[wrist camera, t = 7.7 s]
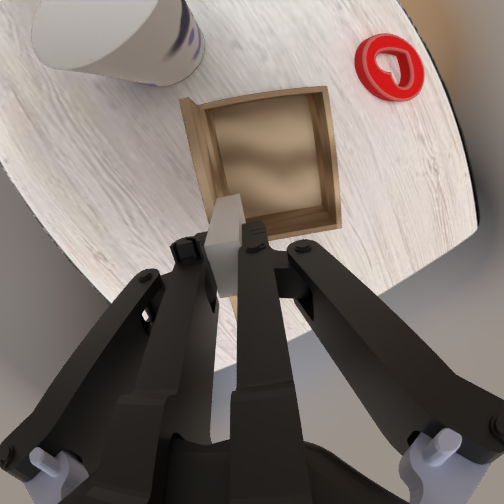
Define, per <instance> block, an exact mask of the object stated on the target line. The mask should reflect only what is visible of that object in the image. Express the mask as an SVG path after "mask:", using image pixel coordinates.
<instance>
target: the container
mask: <svg viewBox="0 0 504 504" xmlns="http://www.w3.org/2000/svg"><path fill="white" fill-rule="evenodd" d="M31 39H32V46H33V49H34V52H35V54H36V56H37V57H38V59H39V60H40V61H41V62H42V63H44V64H45V65H47V66H49V67H51V68H54V69H60V70H69V71H77V72H84V73H91V74H97V75H103V76H108V77H114V78H119V79H124V80H128V81H133V82H138V83H142V84H146V85H150V86H157V87H162V86H169V85H173V84H175V83H178V82H180V81H182V80H184V79H185V78H187V77H188V76H189V75H190V74H192V73H193V72H194V70H195V69H196V68H197V67H198V65H199V64H200V62H201V60H202V58H203V55H204V51H205V41H204V37H203V34H202V32H201V30H200V28H199V26H198V24H197V22H196V21H195V19H194V17H193V15H192V13H191V11H190V9H189V7H188V6H187V4H186V2H185V0H42V1H41V2H40V4H39V6H38V9H37V11H36V14H35V17H34V20H33V24H32V32H31Z"/></svg>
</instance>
